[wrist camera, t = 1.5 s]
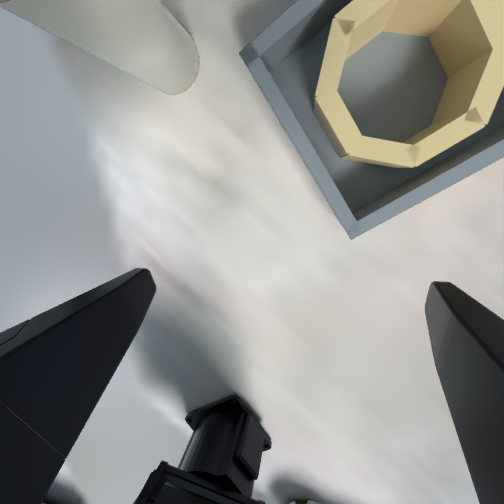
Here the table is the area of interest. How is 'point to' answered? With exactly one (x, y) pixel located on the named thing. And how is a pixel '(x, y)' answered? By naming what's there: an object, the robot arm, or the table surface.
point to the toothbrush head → (309, 503)
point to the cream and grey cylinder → (121, 36)
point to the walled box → (385, 97)
